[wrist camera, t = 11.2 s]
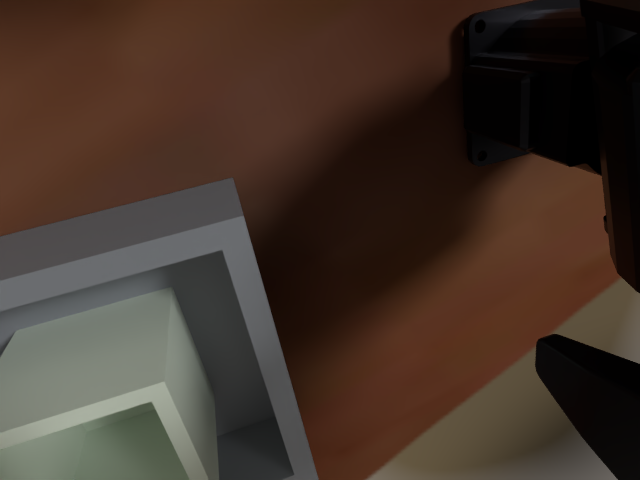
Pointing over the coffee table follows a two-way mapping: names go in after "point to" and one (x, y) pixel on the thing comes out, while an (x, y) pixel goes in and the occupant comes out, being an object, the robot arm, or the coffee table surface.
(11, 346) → the sage crate
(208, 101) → the coffee table surface
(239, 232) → the grey crate
